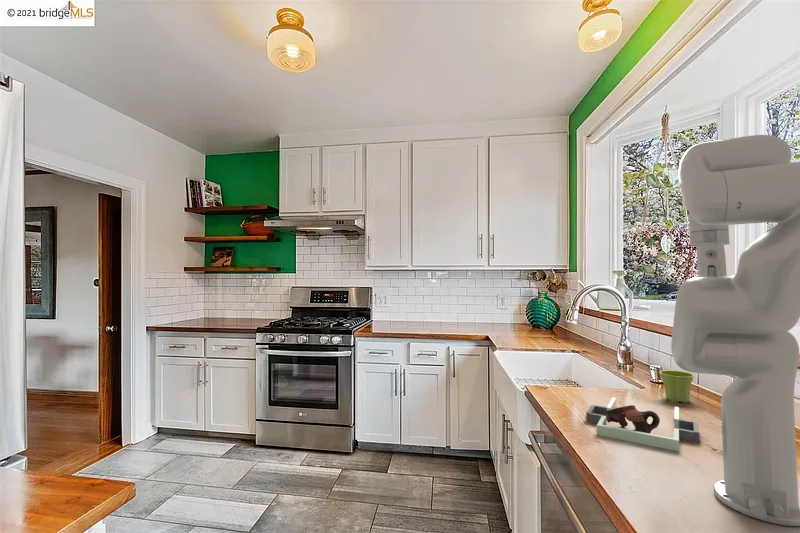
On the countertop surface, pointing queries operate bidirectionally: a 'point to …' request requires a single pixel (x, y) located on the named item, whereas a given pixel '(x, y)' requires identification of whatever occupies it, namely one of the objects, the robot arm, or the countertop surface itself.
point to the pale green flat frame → (682, 431)
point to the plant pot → (677, 385)
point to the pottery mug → (633, 418)
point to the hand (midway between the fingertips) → (712, 313)
